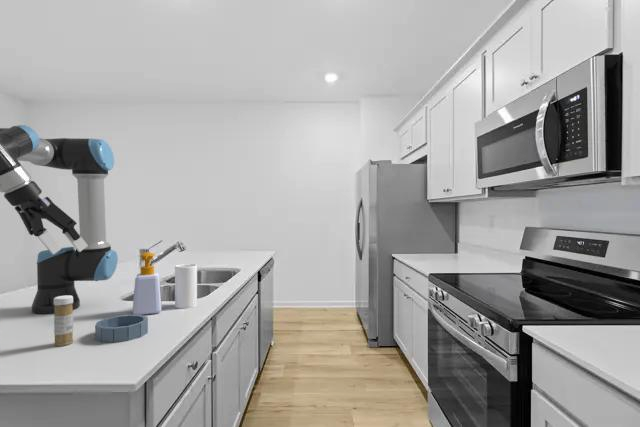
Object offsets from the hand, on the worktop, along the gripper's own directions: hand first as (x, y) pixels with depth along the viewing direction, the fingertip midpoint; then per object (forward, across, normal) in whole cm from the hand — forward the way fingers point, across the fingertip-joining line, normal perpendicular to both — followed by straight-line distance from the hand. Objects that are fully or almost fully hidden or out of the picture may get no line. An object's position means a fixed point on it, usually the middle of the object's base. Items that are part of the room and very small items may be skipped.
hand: (70, 250), depth 108 cm
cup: (+47, -7, +23) cm, 53 cm away
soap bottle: (+38, -10, +11) cm, 41 cm away
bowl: (+29, +4, -5) cm, 30 cm away
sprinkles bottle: (+21, -3, -16) cm, 27 cm away
